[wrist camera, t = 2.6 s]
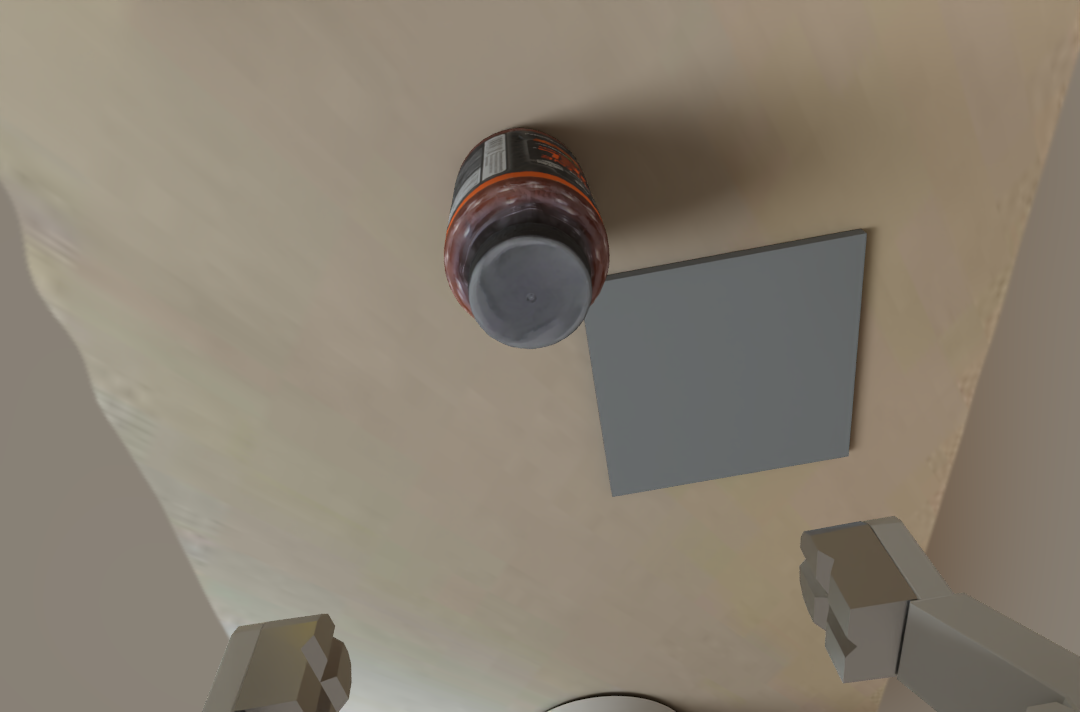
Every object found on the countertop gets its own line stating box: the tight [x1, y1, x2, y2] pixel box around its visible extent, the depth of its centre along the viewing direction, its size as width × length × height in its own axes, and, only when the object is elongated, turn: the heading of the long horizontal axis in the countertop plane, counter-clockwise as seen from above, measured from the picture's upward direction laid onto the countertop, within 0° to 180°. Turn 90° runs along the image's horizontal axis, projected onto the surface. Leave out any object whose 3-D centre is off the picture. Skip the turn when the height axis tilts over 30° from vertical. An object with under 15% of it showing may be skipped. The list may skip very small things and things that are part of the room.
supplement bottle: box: [444, 128, 610, 349], centre depth 26 cm, size 6×6×11 cm
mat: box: [584, 229, 867, 497], centre depth 37 cm, size 14×14×1 cm
